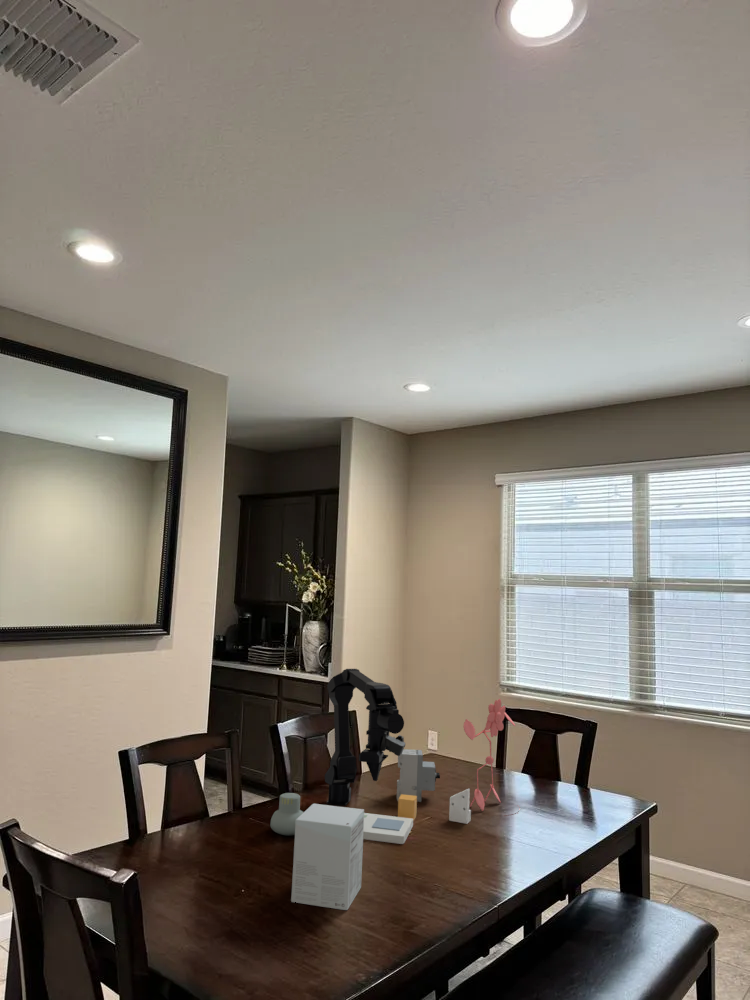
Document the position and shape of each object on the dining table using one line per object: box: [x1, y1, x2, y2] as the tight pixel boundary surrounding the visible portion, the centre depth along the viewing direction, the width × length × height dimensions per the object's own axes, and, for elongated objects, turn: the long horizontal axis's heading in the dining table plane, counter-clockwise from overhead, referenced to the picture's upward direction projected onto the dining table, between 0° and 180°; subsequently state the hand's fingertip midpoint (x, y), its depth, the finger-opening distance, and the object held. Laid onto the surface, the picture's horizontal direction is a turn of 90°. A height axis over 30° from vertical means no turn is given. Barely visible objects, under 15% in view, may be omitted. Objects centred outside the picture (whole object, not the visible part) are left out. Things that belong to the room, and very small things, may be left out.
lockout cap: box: [397, 794, 418, 822], centre depth 212 cm, size 5×5×6 cm
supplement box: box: [290, 803, 365, 911], centre depth 157 cm, size 13×13×18 cm
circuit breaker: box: [396, 748, 441, 803], centre depth 233 cm, size 8×14×15 cm, turn 89°
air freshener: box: [270, 792, 305, 836], centre depth 195 cm, size 11×8×10 cm
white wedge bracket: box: [448, 788, 472, 825], centre depth 212 cm, size 4×10×9 cm, turn 65°
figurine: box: [463, 698, 520, 817], centre depth 227 cm, size 15×26×35 cm, turn 140°
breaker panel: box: [363, 812, 414, 845], centre depth 199 cm, size 20×16×2 cm
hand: (375, 780), depth 206 cm, fingers closed
